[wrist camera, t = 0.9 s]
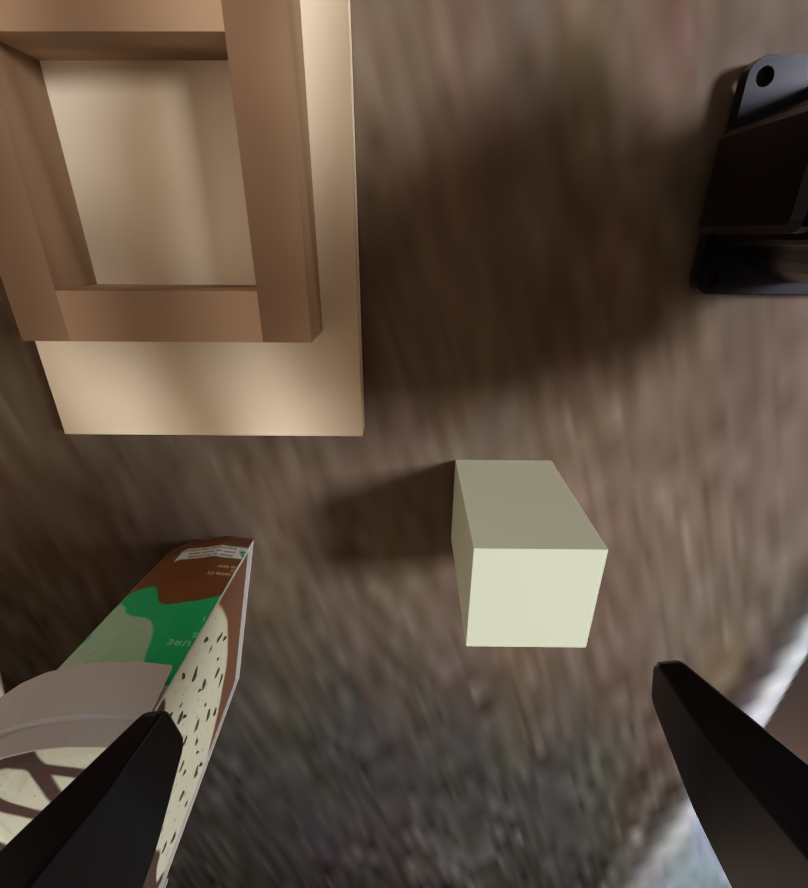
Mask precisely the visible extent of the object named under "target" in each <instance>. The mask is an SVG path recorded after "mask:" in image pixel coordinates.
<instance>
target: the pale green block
mask: <svg viewBox="0 0 808 888" xmlns="http://www.w3.org/2000/svg"><path fill="white" fill-rule="evenodd" d="M451 542H452V549H453V556H454V563H455V570H456V578H457V585H458V592H459V599H460V606H461V613H462V621H463V628H464V635H465V642H466V646H509V647H586V644H587V640H588V635H589V631H590V627H591V622H592V618H593V614H594V609H595V605H596V601H597V596H598V592H599V587H600V583H601V579H602V574H603V570H604V566H605V561H606V557H607V553H608V549H607V547H606V545H605V544H604V542H603V541H602V539H601V538H600V536H599V535H598V533H597V531H596V530H595V528H594V527H593V525H592V524H591V522H590V520H589V519H588V517H587V516H586V514H585V513H584V511H583V509H582V508H581V506H580V505H579V503H578V502H577V500H576V498H575V497H574V495H573V494H572V492H571V491H570V489H569V488H568V486H567V484H566V483H565V481H564V480H563V478H562V477H561V475H560V473H559V472H558V470H557V469H556V467H555V466H554V464H553V462H552V461H531V460H455V478H454V496H453V514H452V532H451Z"/></svg>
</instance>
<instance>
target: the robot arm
mask: <svg viewBox="0 0 808 888" xmlns="http://www.w3.org/2000/svg"><path fill="white" fill-rule="evenodd" d="M759 70H760V71H763V73H764V75H765V81H764V83H763V85H762V87H759V86H758V85H757V83H756V76H757V74H758V72H759ZM699 226H700V229H701V231H702V232H701V236H700V240H699V244H698V248H697V252H696V256H695V260H694V265H693V269H692V273H691V277H690V284H691V287H692V289H694V290H695V291H697V292H701V293H706V294H808V55H768V56H764V57H762V58H760V59H758V60H756V61H754V62H752V63H751V64H750V65H748V66H747V67H746V68H745V70H744V71H743V72H742V74H741V77H740V79H739V82H738V86H737V90H736V94H735V98H734V102H733V106H732V110H731V114H730V118H729V122H728V126H727V131H726V135H725V136H724V137H723V138H722V139H721V140H720V142H719V146H718V150H717V154H716V158H715V162H714V166H713V170H712V175H711V179H710V183H709V187H708V191H707V195H706V199H705V203H704V208H703V212H702V216H701V220H700V224H699ZM709 271H711V272H712V279H711V281H710V282H709V283H708V284H705V283H704V277H705V276H706V274H707V273H708V272H709ZM652 700H653V704H654V707H655V710H656V713H657V715H658V718H659V721H660V723H661V726H662V728H663V731H664V734H665V736H666V739H667V741H668V744H669V747H670V749H671V752H672V754H673V757H674V760H675V762H676V765H677V767H678V770H679V773H680V775H681V778H682V780H683V783H684V786H685V788H686V791H687V793H688V796H689V798H690V801H691V803H692V806H693V808H694V810H695V812H696V815H697V817H698V819H699V821H700V823H701V825H702V827H703V829H704V832H705V834H706V836H707V838H708V840H709V842H710V844H711V846H712V848H713V850H714V852H715V854H716V856H717V858H718V860H719V862H720V864H721V866H722V868H723V870H724V872H725V874H726V876H727V878H728V880H729V882H730V884H731V886H732V888H808V764H807V763H806V762H805V761H803V760H802V759H801V758H800V757H798V756H797V755H796V754H795V753H794V752H792V751H791V750H790V749H789V748H787V747H786V746H785V745H784V744H783V743H781V742H780V741H779V740H778V739H776V738H775V737H774V736H773V735H771V734H770V733H769V732H768V731H766V730H765V729H764V728H763V727H762V726H760V725H759V724H758V723H757V722H756V721H754V720H753V719H752V718H751V717H749V716H748V715H747V714H746V713H744V712H743V711H742V710H741V709H740V708H738V707H737V706H736V705H735V704H733V703H732V702H731V701H730V700H729V699H727V698H726V697H725V696H724V695H722V694H721V693H720V692H719V691H717V690H716V689H715V688H714V687H713V686H711V685H710V684H709V683H708V682H706V681H705V680H704V679H703V678H702V677H700V676H699V675H698V674H697V673H695V672H694V671H693V670H692V669H690V668H689V667H688V666H687V665H686V664H684V663H682V662H680V661H677V660H673V661H663V662H657V663H656V664H655V665H654V668H653V682H652ZM182 750H183V737H182V735H181V733H180V731H179V729H178V728H177V726H176V724H175V723H174V721H173V719H172V717H171V716H170V714H169V713H168V712H167V711H164V710H162V711H152V712H146V713H144V714H142V715H141V716H140V717H138V718H137V719H136V720H135V721H134V722H133V723H132V724H131V725H130V726H129V727H128V728H127V729H126V730H125V731H124V732H123V733H122V734H121V735H120V736H119V737H118V738H117V739H116V740H115V741H114V742H112V743H111V744H110V745H109V746H108V747H107V748H106V749H105V750H104V751H103V752H102V753H101V754H100V755H99V756H98V757H97V758H96V759H95V760H94V761H93V762H92V763H91V764H90V765H89V766H88V767H86V768H85V769H84V770H83V771H82V772H81V773H80V774H79V775H78V776H77V777H76V778H75V779H74V780H73V781H72V782H71V783H70V784H69V785H68V786H67V787H66V788H65V789H64V790H63V791H62V792H61V793H59V794H58V795H57V796H56V797H55V798H54V799H53V800H52V801H51V802H50V803H49V804H48V805H47V806H46V807H45V808H44V809H43V810H42V811H41V812H40V813H39V814H38V815H37V816H36V817H35V818H34V819H32V820H31V821H30V822H29V823H28V824H27V825H26V826H25V827H24V828H23V829H22V830H21V831H20V832H19V833H18V834H17V835H16V836H15V837H14V838H13V839H12V840H11V841H10V842H9V843H8V844H7V845H5V846H4V847H3V848H2V849H1V850H0V888H143V885H144V883H145V880H146V877H147V874H148V871H149V868H150V866H151V863H152V860H153V857H154V854H155V851H156V847H157V844H158V841H159V838H160V834H161V831H162V827H163V823H164V819H165V816H166V812H167V808H168V804H169V800H170V797H171V793H172V789H173V785H174V781H175V777H176V774H177V770H178V766H179V762H180V758H181V755H182Z"/></svg>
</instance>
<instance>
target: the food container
mask: <svg viewBox="0 0 808 888" xmlns="http://www.w3.org/2000/svg"><path fill="white" fill-rule="evenodd" d="M253 542H254V539H250V538H241V537H232V536H224V537H216V538H207V539H199V540H194V541H192V542H190V543H188V544H185V545H183V546H181V547H178V548H176V549H174V550H172V551H169V552H168V553H167V554H166V555H165V556H164V557H163V558H162V559H161V560H160V561H159V562H158V563H157V564H156V565H155V566H154V567H153V568H152V569H151V570H150V571H149V573H148V574H147V575H146V576H145V577H144V578H143V579H142V580H141V581H140V582H139V583H138V584H137V585H136V586H135V587H134V588H133V590H132V591H131V592H130V593H129V594H128V595H127V596H126V597H125V598H124V599H123V600H122V601H121V602H120V603H119V604H118V606H117V607H116V608H115V609H114V610H113V611H112V612H111V613H110V614H109V615H108V616H107V617H106V618H105V619H104V620H103V621H102V623H101V624H100V625H99V626H98V627H97V628H96V629H95V630H94V631H93V632H92V633H91V634H90V635H89V636H88V637H87V638H86V640H85V641H84V642H83V643H82V644H81V645H80V646H79V647H78V648H77V649H76V650H75V651H74V652H73V653H72V654H71V655H70V657H69V658H68V659H67V660H66V661H65V662H64V663H63V664H62V665H61V666H60V667H59V668H58V669H57V670H54V671H51V672H47V673H44V674H41V675H39V676H37V677H35V678H32V679H30V680H28V681H26V682H23V683H21V684H19V685H18V686H17V687H15V688H14V689H12V690H11V691H9V692H8V693H7V694H5V695H4V696H2V697H1V698H0V850H1V849H2V848H3V847H4V846H5V845H7V844H8V843H9V842H10V841H11V840H12V839H13V838H14V837H15V836H16V835H17V834H18V833H19V832H20V831H21V830H22V829H23V828H24V827H25V826H26V825H27V824H28V823H29V822H30V821H31V820H32V819H34V818H35V817H36V816H37V815H38V814H39V813H40V812H41V811H42V810H43V809H44V808H45V807H46V806H47V805H48V804H49V803H50V802H51V801H52V800H53V799H54V798H55V797H56V796H57V795H58V794H59V793H61V792H62V791H63V790H64V789H65V788H66V787H67V786H68V785H69V784H70V783H71V782H72V781H73V780H74V779H75V778H76V777H77V776H78V775H79V774H80V773H81V772H82V771H83V770H84V769H85V768H86V767H88V766H89V765H90V764H91V763H92V762H93V761H94V760H95V759H96V758H97V757H98V756H99V755H100V754H101V753H102V752H103V751H104V750H105V749H106V748H107V747H108V746H109V745H110V744H111V743H112V742H114V741H115V740H116V739H117V738H118V737H119V736H120V735H121V734H122V733H123V732H124V731H125V730H126V729H127V728H128V727H129V726H130V725H131V724H132V723H133V722H134V721H135V720H136V719H137V718H138V717H140V716H141V715H142V714H144V713H146V712H152V711H162V710H164V711H167V712H168V713H169V714H170V716H171V717H172V719H173V721H174V723H175V724H176V726H177V728H178V729H179V731H180V733H181V735H182V737H183V750H182V755H181V758H180V762H179V766H178V770H177V774H176V777H175V781H174V785H173V789H172V793H171V797H170V800H169V804H168V808H167V812H166V816H165V819H164V823H163V827H162V831H161V834H160V838H159V841H158V844H157V847H156V851H155V854H154V857H153V860H152V863H151V866H150V868H149V871H148V874H147V877H146V880H145V883H144V885H143V888H165V887H166V885H167V882H168V878H166V877H167V874H168V872H169V869H170V866H171V863H172V861H173V858H174V855H175V852H176V850H177V847H178V844H179V841H180V839H181V836H182V833H183V830H184V828H185V825H186V822H187V819H188V817H189V814H190V811H191V808H192V806H193V803H194V800H195V798H196V795H197V792H198V789H199V787H200V784H201V781H202V778H203V776H204V773H205V770H206V767H207V765H208V762H209V759H210V756H211V754H212V751H213V748H214V745H215V743H216V740H217V737H218V734H219V732H220V729H221V726H222V723H223V721H224V718H225V715H226V713H227V710H228V707H229V704H230V702H231V699H232V696H233V693H234V691H235V688H236V685H237V682H238V680H239V674H240V664H241V655H242V646H243V636H244V627H245V618H246V608H247V599H248V589H249V580H250V571H251V561H252V552H253Z"/></svg>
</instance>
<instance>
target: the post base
mask: <svg viewBox="0 0 808 888" xmlns="http://www.w3.org/2000/svg"><path fill="white" fill-rule="evenodd" d="M0 277H1V279H2V282H3V285H4V288H5V291H6V294H7V297H8V300H9V303H10V306H11V309H12V312H13V315H14V318H15V321H16V324H17V327H18V330H19V333H20V336H21V339H22V341H35V343H36V346H37V349H38V352H39V355H40V358H41V361H42V364H43V367H44V370H45V373H46V376H47V380H48V383H49V386H50V389H51V392H52V395H53V398H54V401H55V404H56V407H57V410H58V413H59V416H60V419H61V422H62V425H63V428H64V431H65V434H137V435H268V436H363V431H364V427H365V421H364V392H363V363H362V334H361V305H360V276H359V247H358V218H357V189H356V159H355V130H354V101H353V72H352V43H351V14H350V0H0Z"/></svg>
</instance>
